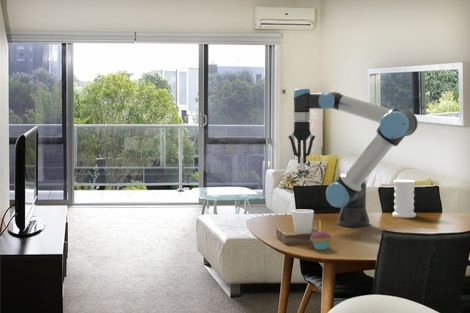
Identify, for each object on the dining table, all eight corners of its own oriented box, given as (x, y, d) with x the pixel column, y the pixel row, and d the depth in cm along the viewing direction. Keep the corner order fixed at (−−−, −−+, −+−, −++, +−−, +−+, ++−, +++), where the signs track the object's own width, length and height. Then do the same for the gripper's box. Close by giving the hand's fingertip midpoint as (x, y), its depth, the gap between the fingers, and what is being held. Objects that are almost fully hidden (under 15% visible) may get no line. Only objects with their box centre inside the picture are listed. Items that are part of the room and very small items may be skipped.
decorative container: (392, 217, 375) (392, 182, 374) (392, 213, 387) (392, 179, 385) (415, 218, 373) (416, 182, 371) (415, 214, 384) (415, 179, 382)
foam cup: (287, 241, 321) (287, 211, 320) (299, 237, 328) (299, 208, 327) (306, 243, 315) (306, 213, 314) (318, 240, 322) (318, 210, 321)
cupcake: (308, 246, 309) (308, 218, 308) (328, 246, 310) (328, 217, 309) (312, 251, 301) (312, 221, 300) (333, 250, 302) (333, 221, 300)
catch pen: (276, 237, 329) (276, 228, 329) (313, 235, 333) (313, 226, 332) (285, 244, 314) (285, 235, 313) (324, 242, 317) (324, 233, 316)
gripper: (316, 120, 356) (316, 169, 358) (289, 120, 359) (290, 169, 361) (314, 121, 349) (314, 171, 351) (287, 121, 352) (287, 170, 354)
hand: (302, 170), depth 356 cm, fingers closed
